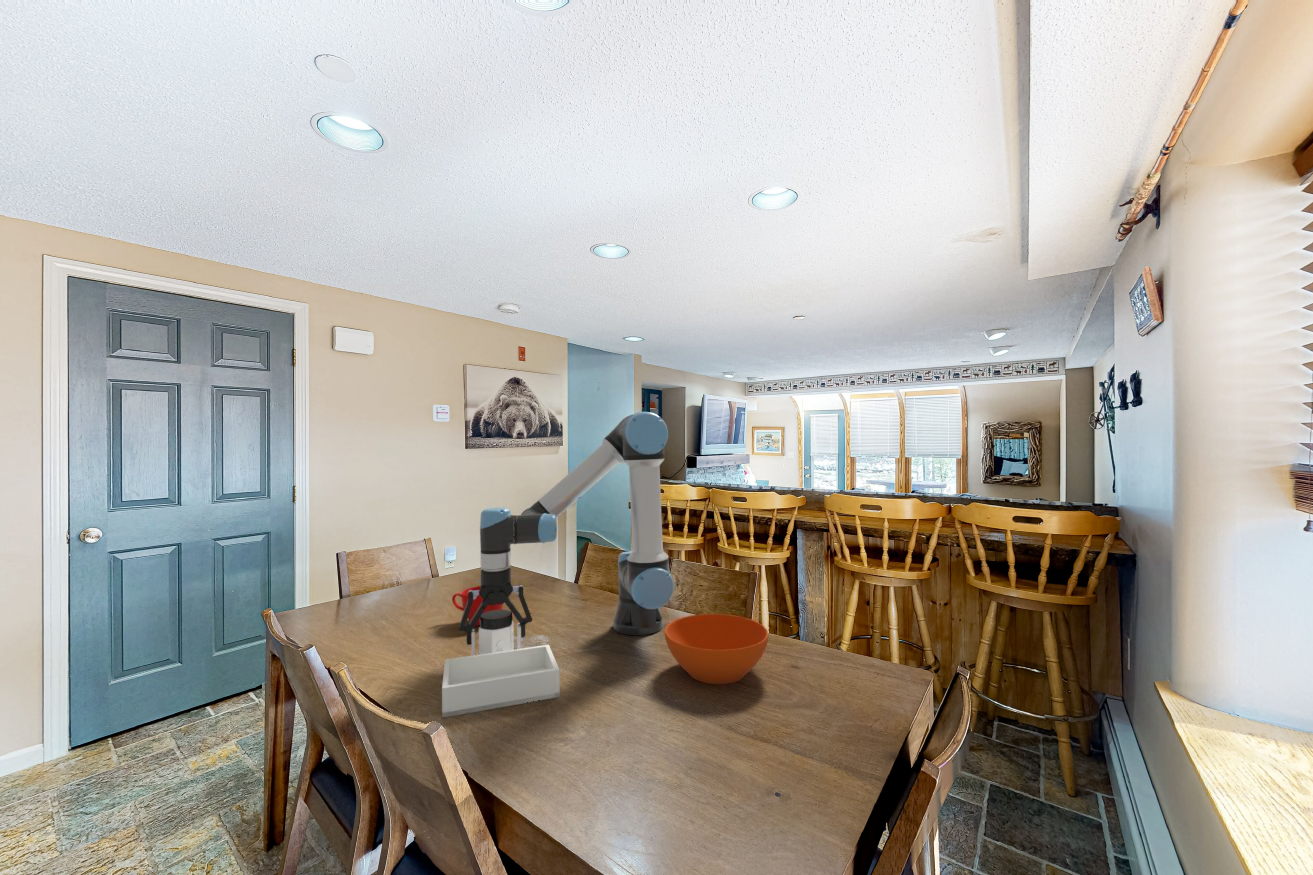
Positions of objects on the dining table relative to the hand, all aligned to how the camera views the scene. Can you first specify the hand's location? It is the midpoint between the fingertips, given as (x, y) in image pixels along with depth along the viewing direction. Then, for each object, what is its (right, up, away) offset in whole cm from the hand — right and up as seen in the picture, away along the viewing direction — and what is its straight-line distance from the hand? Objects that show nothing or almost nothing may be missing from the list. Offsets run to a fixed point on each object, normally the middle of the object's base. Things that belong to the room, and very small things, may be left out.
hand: (496, 653), depth 134 cm
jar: (0, -2, 0) cm, 2 cm away
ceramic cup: (-15, -3, +30) cm, 34 cm away
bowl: (+56, -1, -8) cm, 57 cm away
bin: (+6, -2, -17) cm, 18 cm away
